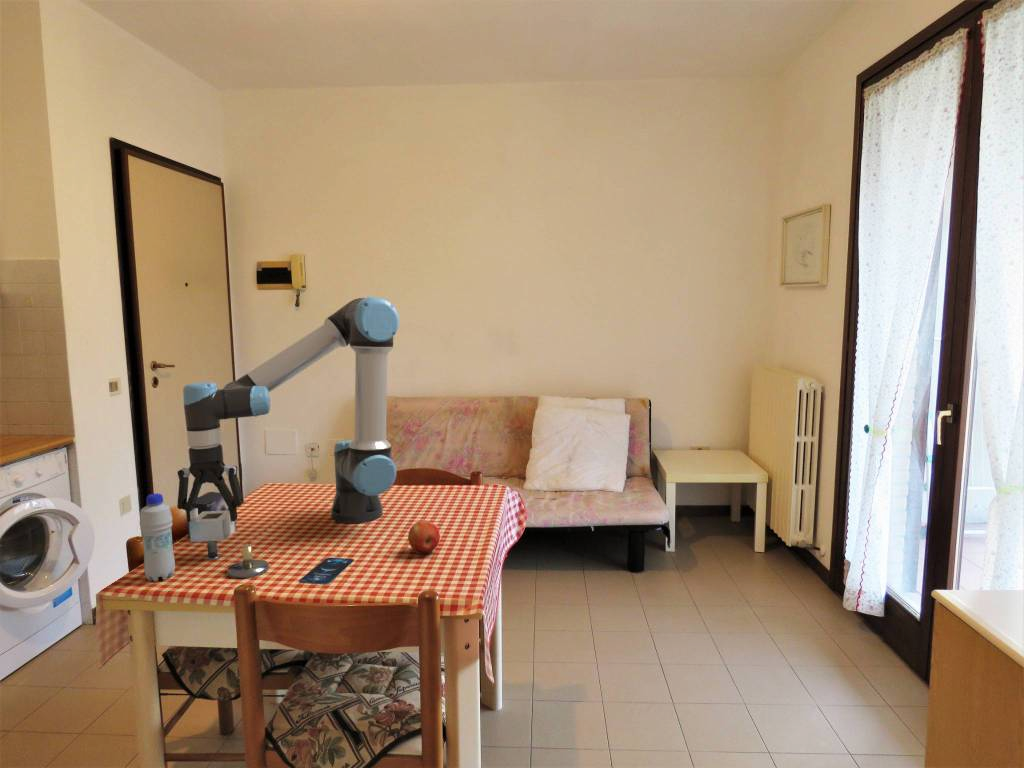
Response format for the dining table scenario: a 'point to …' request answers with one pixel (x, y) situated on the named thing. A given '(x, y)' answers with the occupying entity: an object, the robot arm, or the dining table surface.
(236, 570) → the round stand base
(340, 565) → the smartphone
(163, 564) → the bottle
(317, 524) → the dining table surface
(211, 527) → the grey hollow block
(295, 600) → the dining table surface
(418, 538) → the apple
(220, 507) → the small box
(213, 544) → the stand rod
